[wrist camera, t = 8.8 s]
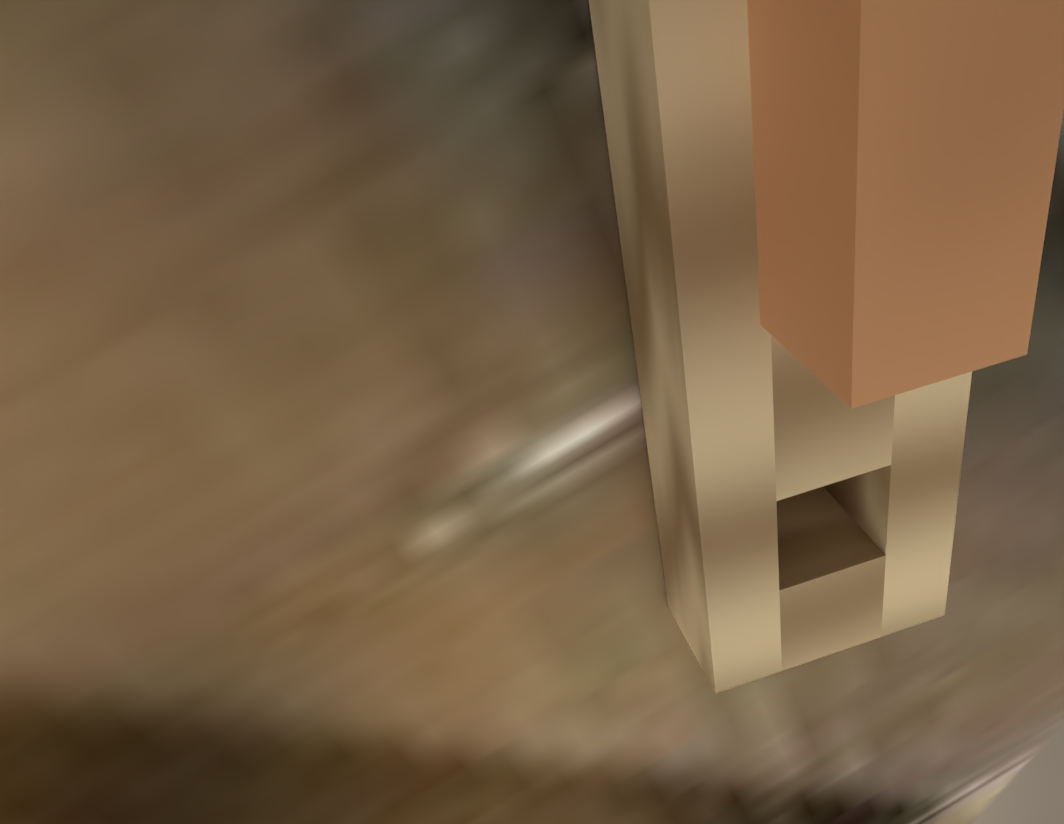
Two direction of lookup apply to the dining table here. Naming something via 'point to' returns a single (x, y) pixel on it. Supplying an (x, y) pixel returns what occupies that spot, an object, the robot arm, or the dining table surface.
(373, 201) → the dining table surface
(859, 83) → the orange-tan bridge block
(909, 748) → the dining table surface
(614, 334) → the dining table surface
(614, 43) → the rail
